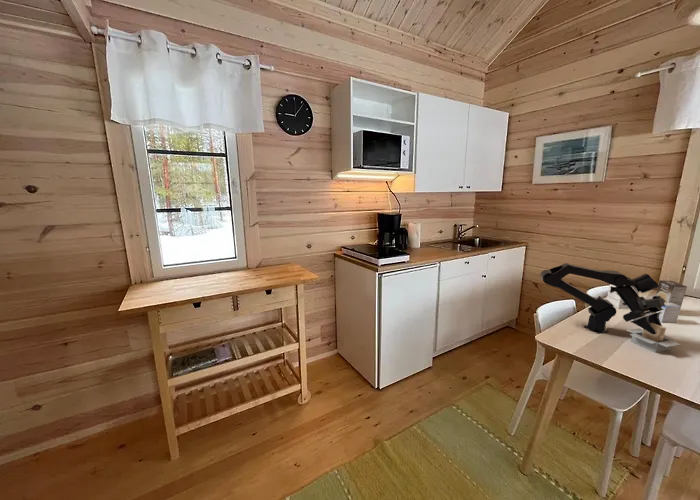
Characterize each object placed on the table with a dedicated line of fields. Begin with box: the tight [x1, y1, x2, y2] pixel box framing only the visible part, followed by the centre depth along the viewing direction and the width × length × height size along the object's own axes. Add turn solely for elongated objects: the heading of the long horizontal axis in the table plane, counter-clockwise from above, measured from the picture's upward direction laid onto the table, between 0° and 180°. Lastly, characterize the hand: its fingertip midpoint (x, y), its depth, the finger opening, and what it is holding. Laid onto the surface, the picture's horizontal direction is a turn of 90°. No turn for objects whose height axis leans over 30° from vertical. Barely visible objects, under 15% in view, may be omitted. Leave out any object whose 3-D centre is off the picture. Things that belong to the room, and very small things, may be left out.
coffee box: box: [655, 279, 688, 310], centre depth 154 cm, size 9×6×16 cm
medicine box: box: [657, 303, 682, 323], centre depth 144 cm, size 8×4×9 cm, turn 92°
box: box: [642, 323, 667, 342], centre depth 120 cm, size 4×4×9 cm
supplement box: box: [606, 284, 640, 310], centre depth 161 cm, size 9×9×15 cm
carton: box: [626, 327, 681, 353], centre depth 120 cm, size 14×14×4 cm
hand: (658, 332), depth 118 cm, fingers open, 6 cm apart
